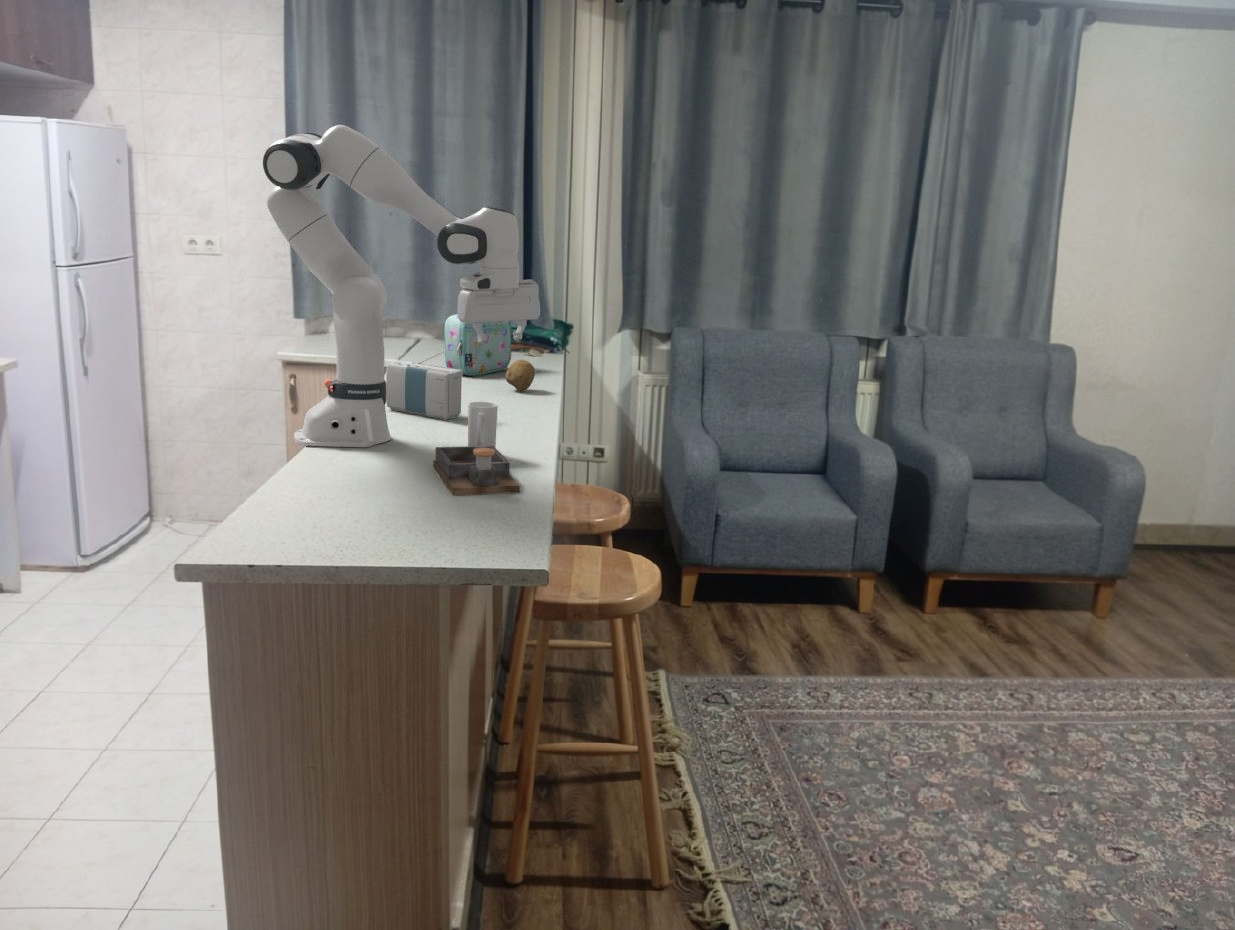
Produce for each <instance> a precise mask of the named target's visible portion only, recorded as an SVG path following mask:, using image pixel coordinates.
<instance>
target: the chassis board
mask: <svg viewBox="0 0 1235 930" xmlns="http://www.w3.org/2000/svg"><path fill="white" fill-rule="evenodd" d="M476 448H491V449H494V450H495V455H494V456H492V458H491V470H477V469H476V456H475V455H473V449H476ZM432 468H433V469H434V470H435V472H436V473H437V475H438V476H439V478H440V479H441V481H442V482H443V484H444V485H445V486H446V488H447V490H448V491H449V492H450V494H451V495H452V496H466V495H467V496H470V494H472V496H473V494H474V495H493V494H494V495H495V494H496V495H498V494H515V493H516V494H517V493H518V494H519V493H521V484H520V483H519V482H517V480H516V479H515V478H514V477H513V476H512V475H511V473H510V469H511V462H510V461H509V460H508V459H507V458H506V457H505V456H504V455H503V454H502V453H501V452H500V451H499V449H497V448H496V446H495V447H494V446H468V445H467V446H465V445H464V446H441V447H440V446H436V447H435V460H432ZM497 493H498V494H497Z"/></svg>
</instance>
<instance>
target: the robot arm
mask: <svg viewBox="0 0 1235 930" xmlns="http://www.w3.org/2000/svg"><path fill="white" fill-rule="evenodd" d="M262 166H263V167H262V169H263V172H264V174H265V176H266V178H267V179H268V180H269V181H270V183H272V184H273V185H275V186H274V187H273V189H271V191H270V192H269V194H268V196H267V199H266V206H267V208H268V211H269V212H270V215H271V217H272V219H273V220H274V222H275V224H276V227H278V229H279V231H280V232H281V233H282V235H283V237H284V239H286V241H287V242H288V244H289V245H290V246H291V248H292V249H293V251H294V252H295V253H296V254H297V256H298V258H300V259H301V261H302V262H303V264H304V265H305V266H306V268H307V269H308V271H310V273H312V274H313V275H314V276H315V277H316V278H317V279H318V280H319V281H320V282H321V283H322V284H323V285H324V286H325V288H327V290H328V291H329V292H330V293H331V305H332V321H333V329H334V339H335V348H336V379H334V380H332V379H326V380H325V381H324V386H325V387H326V389H327V396H326V397H324V398H323V399H322V400H320V401H319V402H318V403H316V404H315V405H314V406H312V407H310V409H308V410H307V412H306V414H305V417H304V421H303V427H302V428H300V429H298V430H296V431H295V432H294V434H293V440H294V443H297V444H298V445H300V446H304V447H334V448H335V447H336V448H337V447H339V448H340V447H346V448H348V447H350V448H369V447H372V446H375V445H377V444H381V443H386V442H389V441H390V440H391V439H392V436H391V433H390V430H389V425H388V419H387V412H386V411H387V410H386V405H387V403H386V400H387V386H386V379H385V343H384V332H383V331H384V330H383V315H382V313H383V312H384V310H385V309H386V307H387V303H388V292H387V289H386V286H385V285H384V283H383V282H382V281H381V279H380V278H379V276H377V274H376V273H375V272H374V270H373V269H372V268H371V267H370V266H369V265H368V263H367V262H366V261H365V259H363V257H362V256H361V255H360V254H359V253H358V252H357V250H356V249H354V247H353V246H352V244H350V242H349V241H348V239H347V238H346V237H345V235H344V234H343V233H342V232H341V229H339V227H338V226H337V225H336V223H335V222H334V221H333V219H332V218H331V216H330V215H329V214H328V212H327V211H326V210H325V208H324V207H323V206H322V203H320V201H319V199H318V197H317V194H316V193H317V190H319V189H321V188H322V187H323V186H324V184H325V182H326V181H327V180H328V178H329V177H330V176H331V175H332V176H335V177H336V178H338V179H339V180H341V181H342V182H343V183H345V184H346V185H347V186H348V187H350V188H351V189H352V190H354V191H355V192H356V193H357V194H358V195H360V196H361V197H363V198H365V199H366V200H369V202H372V203H374V204H376V205H378V206H381V207H386V208H390V209H393V210H397V211H399V212H402V213H404V214H406V215H408V216H410V217H412V219H414V220H416V221H417V222H419V224H421V225H422V226H424V227H425V228H426V229H427V230H429V231H430V232H432V233H433V234H434V235H436V236H437V239H436V247H437V250H438V253H439V254H440V256H441V257H442V258H443V259H444V260H445V261H446V262H448V263H450V264H453V265H455V266H464V265H474V264H476V263H479V271H478V272H475V273H474V274H471V275H468V276H466V277H462V278H461V279H460V281H459V284H460V285H459V286H460V288H462V289H461V290H460V292H459V293H458V298H457V314H458V318H459V320H460V321H461V322H463V323H473V328H474V330H475V331H476V333H477V338H478V342H487V339H486V338H487V335H486V334H483V332H482V330H481V328H480V327H483V322H498V321H510V322H512V321H516V324H517V325H518V326H517V328H516V330H515V331H513V332H512V335H513V336H512V339H513V340H514V341H518V340H519V341H521V340H523V332H524V330H525V329H526V327H527V323H528V322H527V321H528V320H529V321H531V320H538V319H539V317H540V316H541V305H540V304H541V303H540V297H539V291H540V290H539V289H540V287H539V284H538V283H537V282H536V281H534V279H530V278H529V279H520V265H519V261H518V253H519V248H520V239H519V238H520V237H519V236H520V235H519V225H518V220H517V217H516V215H515V214H514V213H513V212H512V211H510V210H509V209H507V208H506V209H505V208H503V207H502V208H501V207H497V206H490V205H486V206H483V207H482V208H481V209H480V210H478V211H477V212H474V213H472V214H471V215H469V216H466V217H464V218H462V217H459V216H457V215H456V214H454V213H453V212H451V211H450V210H448V209H447V208H446V207H445V206H444V205H442V204H440V203H439V202H438V201H437V200H435V199H434V198H433V197H431V196H430V195H429V194H428V193H426V192H425V191H424V190H423V189H422V188H421V187H420V185H418V184H417V182H415V181H414V180H413V178H412V177H411V176H410V175H409V174H408V173H407V171H406V170H405V169H404V168H402V166H401V164H399V163H398V162H397V161H396V159H394V158H393V157H392V155H390V154H389V153H388V152H386V150H384V149H383V148H382V147H380V146H379V145H378V144H376V143H375V142H374V141H372V140H371V139H369V138H368V137H367V136H366V135H363V134H362V133H360V132H358V131H356V130H355V129H353V128H351V127H349V126H347V125H346V124H345V125H344V124H336V125H334V126H332V127H330V128H328V129H327V130H326V131H325V132H324V133H323V135H320V134H317V133H313V132H305V133H297V134H291V135H289V136H287V137H285V138H283V139H279V140H276V141H275V142H273V143H272V144H270V146H269V147H268V148H267V149H266V150H265V152H264V155H263V157H262ZM308 445H309V446H308Z"/></svg>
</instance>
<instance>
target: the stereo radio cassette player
mask: <svg viewBox="0 0 1235 930" xmlns="http://www.w3.org/2000/svg"><path fill="white" fill-rule="evenodd" d="M456 346H459V345H458V344H457V345H456ZM454 347H455V346H454ZM454 347H451V348H454ZM451 348H449V349H447V350H450V349H451ZM447 350H445V349H444V350H443V351H440V352H437V353H435V354H433V355H431V356H429V357H426V358H425V359H423V360H420V361H418V362H415V361H409V360H402V361H396V362H390V363H387V365H386V371H385V382H386V386H387V400H386V407H387V408H390V409H389V410H392V411H398V412H404V413H408V414H415V415H420V416H424V417H431V418H434V419H435V418H436V419H439V420H440V419H441V420H444V421H448V420H450V419H455V418H458V417H459V416H460V415H461V413H462V381H463V380H462V379H463V376H464V375H463V371H462V370H460V369H453V368H447V366H439V365H434V364H428V363H424V362H426V361H428V360H431V359H433V358H434V357H437V356H440V355H442V354H443V353H444V354H445V352H446V351H447Z"/></svg>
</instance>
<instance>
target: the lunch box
mask: <svg viewBox="0 0 1235 930" xmlns="http://www.w3.org/2000/svg"><path fill="white" fill-rule="evenodd" d="M511 322H512V321H498V322H483V327H480V328H481V330H482V332H483V334H486V335H487V338H486V339H487V342H478V338H477V333H476V331H475V330H474V328H473V323H463V322H461V321H460V320H459V318H458V313H455V314H453V315H449V317H447V319H446V320H445V323H444V330H443V331H444V333H443V334H444V350H447V349H449V348H451V347H454V346H455V347H454V348H451V349H450V350H447V351H446V352H444V359H445V360H444V361H445V367H447V368H453V369H460V370H462V371H463V376H469V377H475V376H477V377H478V376H483V375H486V374H491V373H496V372H500V371H502V370H506V369H507V368H509V367H508V366H510V363H511V359H512V338H511V337H512V335H511V334H512V331H511V330H512V329H511V328H512V326H511V325H512V324H511ZM457 344H458V345H459V346H456V345H457Z"/></svg>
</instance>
